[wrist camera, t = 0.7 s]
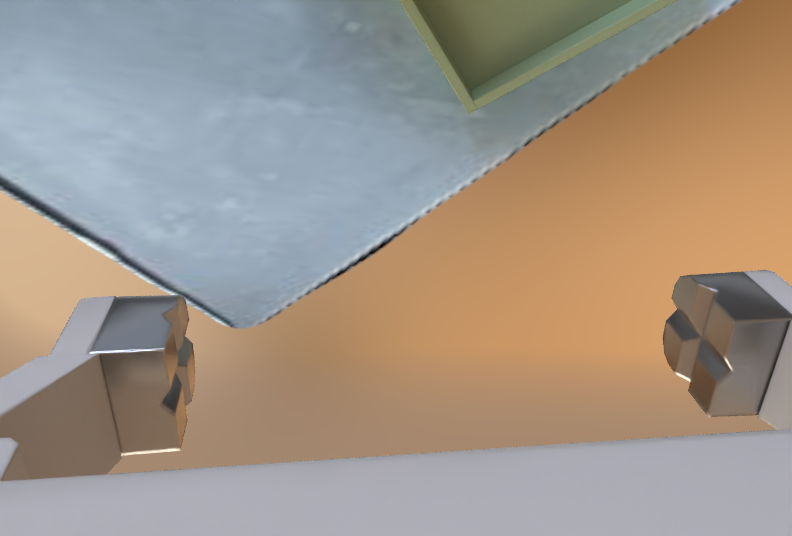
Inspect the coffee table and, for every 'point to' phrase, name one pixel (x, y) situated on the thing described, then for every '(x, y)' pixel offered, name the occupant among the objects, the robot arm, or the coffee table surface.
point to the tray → (515, 37)
